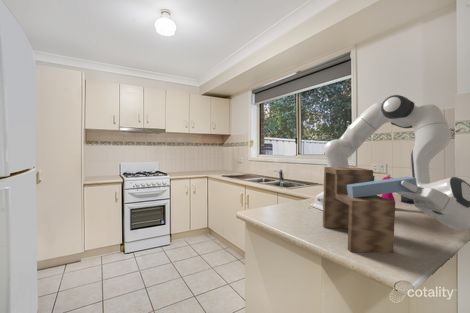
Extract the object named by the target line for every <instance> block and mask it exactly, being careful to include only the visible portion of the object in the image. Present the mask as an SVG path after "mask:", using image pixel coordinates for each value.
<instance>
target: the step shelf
mask: <svg viewBox="0 0 470 313" xmlns="http://www.w3.org/2000/svg"><path fill="white" fill-rule="evenodd" d="M323 170H324V172H323V175H324V176H323V186H324V187H323V191H324V198H323V210H322V227H323V229H348V230H347V231H348V232H347V233H348V234H347V250H348V251H349V252H350V253H383V254H384V253H386V254H388V253H390V254H393V253H394V245H395V244H394V243H395V242H394V241H395V240H394V239H395V224H396V223H395V220H396V219H395V218H396V201H392V200H389V199H386V198H383V197H381V196H380V195H372V196H365V197H357V198H352V197H350V196H348V192H347V185H349V184H356V183H364V182H371V181H375V177H376V176H375V175H374V170H373V169H367V168H363V167H362V168H361V167H352V166H351V167H328V166H324V168H323Z"/></svg>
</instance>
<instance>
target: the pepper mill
mask: <svg viewBox="0 0 470 313" xmlns="http://www.w3.org/2000/svg"><path fill="white" fill-rule="evenodd" d="M390 178H393V177H392V176H391V175H390V174H389V173H388V174H387V173H386V176H385V177H382V179H381V180H386V179H390ZM380 197H383V198H386V199H389V200H392V201H395V197H394V194H393V193H387V194H381V196H380ZM395 202H396V201H395Z"/></svg>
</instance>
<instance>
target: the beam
mask: <svg viewBox="0 0 470 313" xmlns="http://www.w3.org/2000/svg"><path fill="white" fill-rule="evenodd" d="M392 178H393V177H392ZM401 180H404V181H407V182H408V183H411V184H413V185H417V183H416V178H413V176H412V177H411V176H401V177H394V178H393V179H386V180H382V179H379V180H378V179H377V180H374V181H371V182H364V183H356V184H349V185H347V192H348V196H350V197H352V198H357V197H365V196H372V195H377V196H380V195H382V194H387V193H392V194H393V193H394V194H395V193H396V192H402V191H410V190H409V189H407V188H406V187H403V186H401V185H400V184H399V183H400V181H401Z"/></svg>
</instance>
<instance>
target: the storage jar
mask: <svg viewBox="0 0 470 313" xmlns="http://www.w3.org/2000/svg"><path fill="white" fill-rule="evenodd" d="M400 202H401V203H403V204H408V205H414V201H413V199H409V198H406V197H404V196H401V195H400Z"/></svg>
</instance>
